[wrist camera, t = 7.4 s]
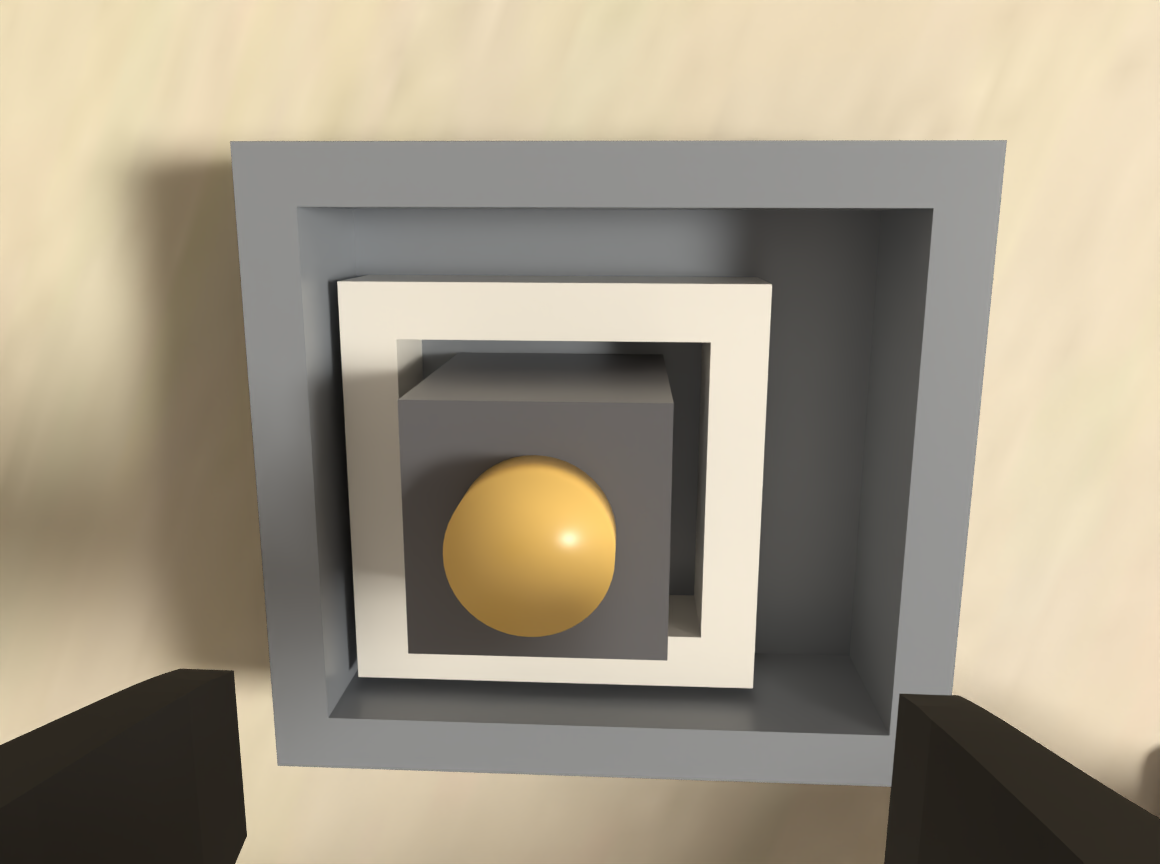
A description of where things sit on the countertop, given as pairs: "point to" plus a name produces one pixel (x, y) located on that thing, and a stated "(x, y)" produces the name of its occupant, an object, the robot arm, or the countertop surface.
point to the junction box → (700, 435)
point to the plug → (538, 506)
